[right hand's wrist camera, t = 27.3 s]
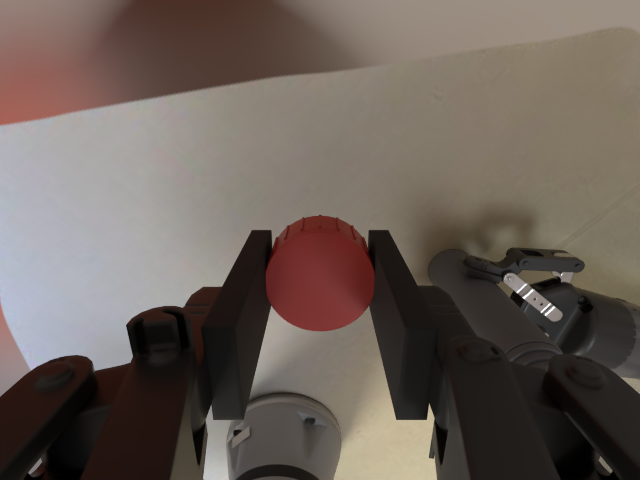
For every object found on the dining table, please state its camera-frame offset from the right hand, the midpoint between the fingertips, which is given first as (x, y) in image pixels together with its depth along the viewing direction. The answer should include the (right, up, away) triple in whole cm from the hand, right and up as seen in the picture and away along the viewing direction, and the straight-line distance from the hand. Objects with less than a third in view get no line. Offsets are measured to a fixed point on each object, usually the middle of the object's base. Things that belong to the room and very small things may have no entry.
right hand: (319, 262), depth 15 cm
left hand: (+12, -4, +20) cm, 24 cm away
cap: (0, -1, -2) cm, 2 cm away
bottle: (+15, -2, +27) cm, 31 cm away
